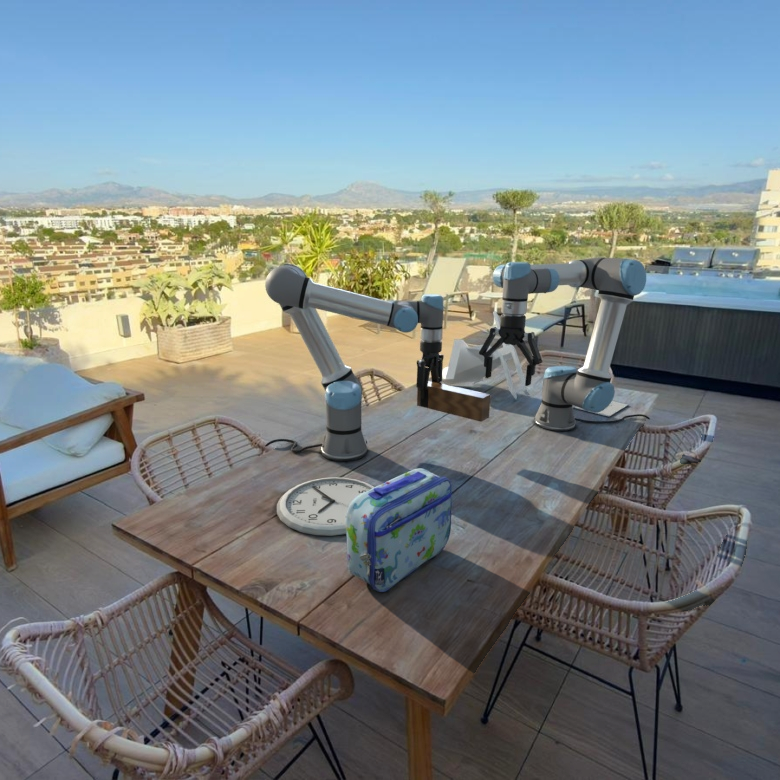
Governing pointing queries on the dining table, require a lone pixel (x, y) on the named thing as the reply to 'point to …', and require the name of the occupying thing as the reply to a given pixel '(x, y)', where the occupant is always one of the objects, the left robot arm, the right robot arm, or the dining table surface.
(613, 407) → the invitation card
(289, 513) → the wall clock
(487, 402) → the bar
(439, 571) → the dining table surface
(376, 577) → the lunch box
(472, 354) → the white plastic object
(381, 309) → the left robot arm
